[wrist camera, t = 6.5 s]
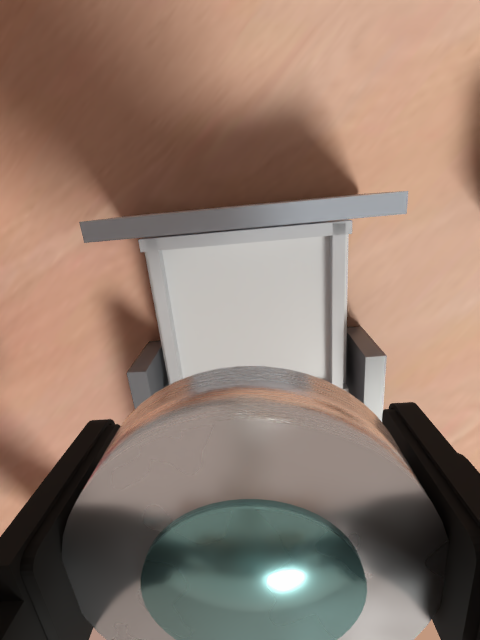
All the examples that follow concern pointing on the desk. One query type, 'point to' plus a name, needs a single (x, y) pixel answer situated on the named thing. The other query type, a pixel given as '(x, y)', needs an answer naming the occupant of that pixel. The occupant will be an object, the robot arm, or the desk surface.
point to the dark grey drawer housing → (360, 371)
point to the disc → (255, 518)
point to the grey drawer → (251, 281)
